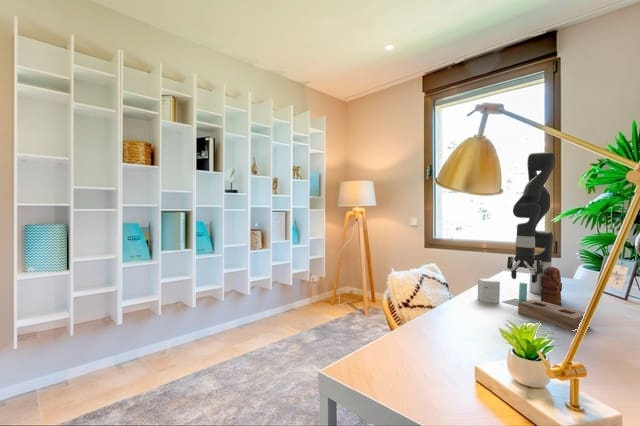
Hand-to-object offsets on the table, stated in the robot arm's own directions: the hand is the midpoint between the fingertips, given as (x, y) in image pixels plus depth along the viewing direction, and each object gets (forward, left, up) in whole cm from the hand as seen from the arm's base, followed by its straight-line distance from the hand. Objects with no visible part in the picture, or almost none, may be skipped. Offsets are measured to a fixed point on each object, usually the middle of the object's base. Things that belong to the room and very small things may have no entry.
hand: (523, 280), depth 145 cm
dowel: (0, 0, -11) cm, 11 cm away
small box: (+9, -11, -12) cm, 19 cm away
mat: (-1, -1, -12) cm, 12 cm away
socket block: (+9, +16, -12) cm, 21 cm away
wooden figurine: (-13, +6, -12) cm, 19 cm away
